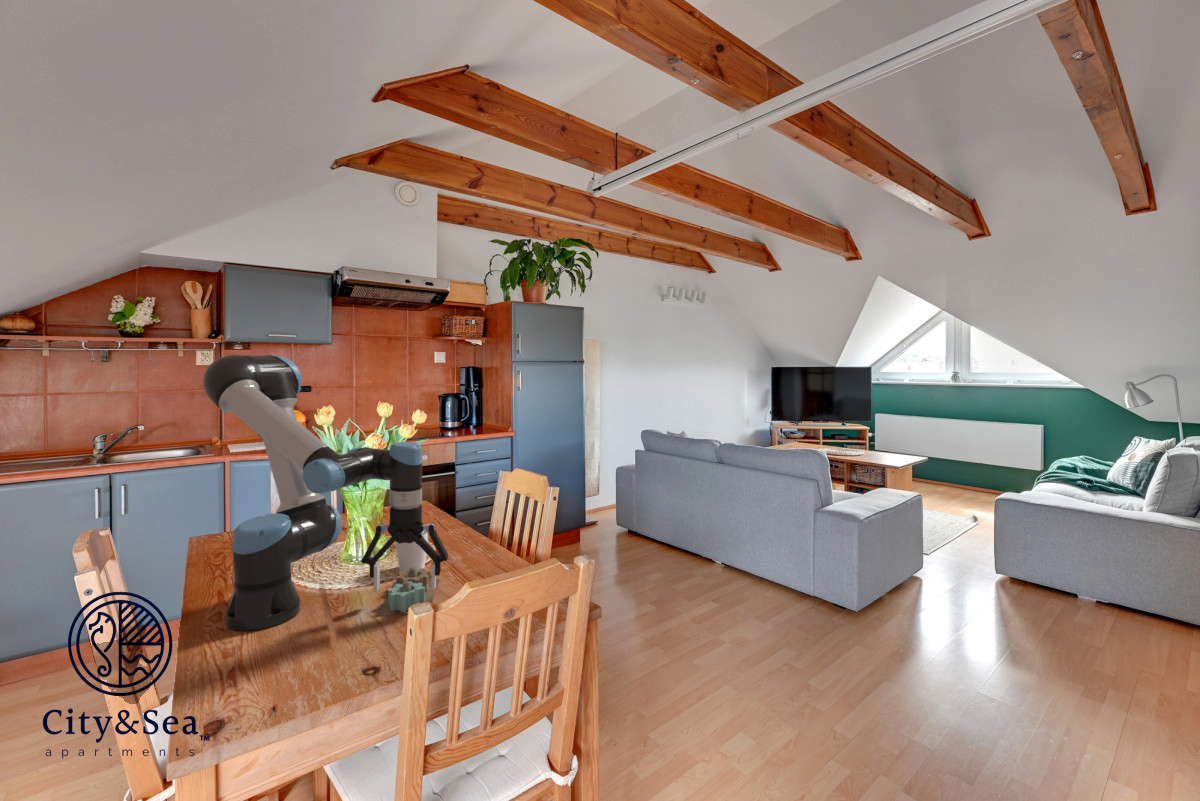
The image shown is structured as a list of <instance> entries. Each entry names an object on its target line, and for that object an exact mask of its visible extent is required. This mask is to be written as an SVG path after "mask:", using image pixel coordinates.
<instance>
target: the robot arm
mask: <svg viewBox="0 0 1200 801" xmlns="http://www.w3.org/2000/svg"><path fill="white" fill-rule="evenodd" d="M202 383H203V384H202V385H203V389H204V391H205V394H206V395H207V398H209V399H210V401H211V402H212V403H213V404H214V405H215V406H216V407H217V408H219V409H220V410H221V411H222V412H223V413H226V414H233V415H234V416H236V417H237V418H238V419H239V420H240V421H242V422H243V423H244V424H245V425H246V426H248V428H249V427H250V429H252V430H253V431H254V432H255V434H258V436H260V437H261V438H262V440H263V445H264V447H265V451H266V455H267V458H268V462H269V465H270V469H271V472H272V473H271V474H272V476H273V480H274V483H275V487H276V490H277V495H278V498H279V502H280V504H279V506H278V508H277V509H276V510H275V513H268V514H265V515H258V516H254V517H252V518H249V519H247V520H244V521H243V522H241V523H240V524H239V525H237V527H236V528H235V529H234V531H233V532H232V544H231V548H232V549H231V550H232V558H233V562H232V563H233V585H234V586H233V587H234V588H233V592H232V595H231V599H230V601H229V604H228V607H227V610H226V614H225V625H226V626H227V628H229V629H231V630H235V631H241V632H242V631H246V632H247V631H257V630H262V629H268V628H271V627H275V626H277V625H280V624H284V623H285V622H287V621H289V620H291V619H293V618H294V617H296V616H297V615H298V614H299V613H300V611H301V599H300V596H299V594H298V591H297V588H296V586H295V584H294V582H293V578H292V564H293V563H296V562H298V561H300V560H302V559H304V558H306V557H309V556H310V555H311V556H312V555H313V554H316V553H319V552H323V551H324V550H326V549H327V548H328V547H330V546H332V545H333V544H334V543H336V542H337V540H338V539H339V536H340V535H341V531H342V527H343V522H342V516H341V514H340V512H339V510H338V509H337V508H335V506H333V505H332V504H329V503H327V500H326V497H325V496H324V495H322V494H324V493H329V492H335V491H338V490H339V489H342V488H346V487H348V486H349V487H350V486H352V485H356V484H359V483H362V482H366V481H370V480H381V481H382V480H383V481H389V505H390V507H389V524H388V525H386V524H383V523H378V524H377V526H376V527H375V532H374V536H373V538H372V540H371V542H370V544H369V545H368V547H367V548H366V551H365V552H364V555H363V557H362V559H361V563H362V564H368V566H369V578H370V579H372V578H373V592H374V593H377V592H378V591H379V589H380V588H381V583H380V582H381V573H380V572H381V568H380V567H381V561H379V559H381V557H382V556H383V555H384V554H385V553H386V552H387V551H388V550H389V548H390V547H391V546H393V544H394V543H395V542H398V544H399V543H412V542H415V543H416V544H417V545H419V546H420V547H421V548H422V549H423V550H424V551H425V552H426V556H428V557H429V558H430V559H431V561H432V563H431V575H430V580H431V590H435V587H436V580H437V576H440V574H441V571H442V570H441V569H442V568H441V564H442V562H446V561H447V560H448V558H449V553H448V552H447V550H446V548H445V545H444V544H443V542H442V540H441V539H440V537H439V534H438V531H436V530H437V529H436V528H437V527H436V523H435V522H430V523H429V524H424V523H423V506H422V503H423V484H422V483H423V463H424V460H423V459H424V458H423V448H422V445H421V444H419V443H418V442H412V441H411V442H410V441H409V442H408V441H407V442H406V441H405V442H404V441H401V442H394V443H392V444H391V445H390V447H389V449H380V448H372V447H368V446H364V447H354V448H351V449H350V450H349V451H348V452H347V453H342V454H339V453H338V452H336V451H335V450H334V449H332V447H330V446H329V445H327V443H325V442H323V440H321V439H320V438H319V437H317V435H315V434H314V433H312V432H311V431H310V430H308V428H307V427H305V426H304V425H303V424H302V423H300V422H299V421H298V420H297V416H296V413H295V410H294V409H295V408H294V406H295V405H296V403H297V402H298V397H297V396H298V394H300V392H301V390H302V388H301V387H302V385H303V377H302V373H301V371H300V368H299V367H298V366H297V365H296V364H295V362H293V360H291V359H289V358H286V357H284V356H278V355H277V356H276V355H272V354H267V355H243V354H241V355H240V354H230V355H225V356H221V357H219V358H217V359H216V360H214V361H213V362H211V363H210V364H209V366H208V367H207V368H206V370H205V372H204V375H203V382H202ZM423 530H426V532H427V533H428V535H429V537H430V540H431V541H432V542H433V544H434V547H435V548H436V549H434V548H433V547H432V545H431V544H430V543H429V541H428V542H427V541H426V540H425V539H424V537H423V536H422V535H421V532H422V531H423ZM385 532H387V533H388V534H389V535H390V537H389V539H388V540H387V541H386V542H385V544H383V546H382V547H381V548H380V549H379V550H378V551H377V552H376V554H374V556H373V557H371V555H372V553H373V552H374V549H375V548H376V546H377V544H378V542H379V540H380V538H381V536H382V535H384V534H385ZM436 550H437V551H436Z"/></svg>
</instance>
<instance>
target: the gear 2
mask: <svg viewBox="0 0 1200 801" xmlns="http://www.w3.org/2000/svg"><path fill="white" fill-rule="evenodd" d="M387 595H388V606H390V610H391V611H394V610H398V611H400V610H401V612H406V610H408V608H409V607H410V606H411V605H413V604H417V603H422V602H425V587H423V583H417V584H416V583H412V582H411V591H409V592H403V585H402V584H396V585H394V588H388V590H387Z"/></svg>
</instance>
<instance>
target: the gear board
mask: <svg viewBox="0 0 1200 801" xmlns="http://www.w3.org/2000/svg"><path fill="white" fill-rule="evenodd" d="M409 573H410V577H416V576H417V568H416V567H413V568H410V569H409ZM430 582H431V579H430ZM439 583H440V579H436V587H435V590H431V586H430V587H429V590H428V591H427V592H426V591H425V602H430V603H433V600H434V597H435V595H436V591H437V589H438V586H439ZM394 585H396V580H395V581H394V582H393V583H392V585H391V588H394ZM402 585H403V592H409V591H411V581H405V582H403V583H402ZM407 612H408V610H406V612H401V610H400V611H398V610H394V611H391V610H390V606H388V594H387V595H386V597H385V599H384V600H383V602H382V604H381V606H380V608H379V610H377V613H376V615H375V616H376V617H383V616H401V615H408V614H407Z"/></svg>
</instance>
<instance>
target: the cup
mask: <svg viewBox="0 0 1200 801" xmlns="http://www.w3.org/2000/svg"><path fill="white" fill-rule="evenodd" d="M421 535H422V536H423V537H424V539H425V540H426V541H427V542H428V543H429V536H428V535H429V533H427V532H426V530H423V531H422V532H421ZM394 543H395V544H394V545H395V551H396V556H397V562H398V570H399V572H405V571H408V569H410V568H413V567H416V568H417V569H420V568H424V569H425V566H426V559H427V554H426V552H425V551H424V550H423V549H422V548H421V547H420V546H419V545H417V544H416V543H415V542H412V543H399V544H398V542H396V541H395V542H394Z"/></svg>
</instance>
